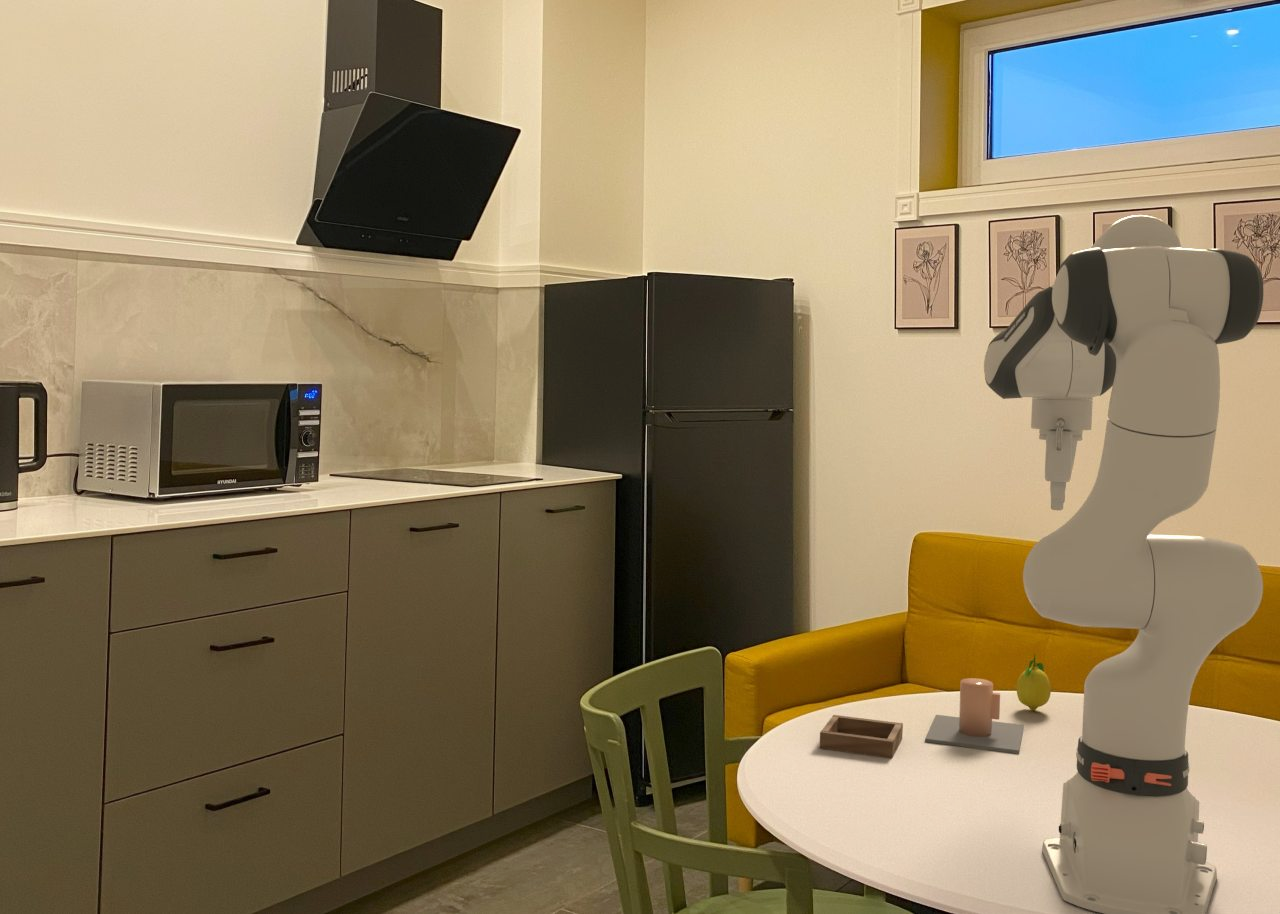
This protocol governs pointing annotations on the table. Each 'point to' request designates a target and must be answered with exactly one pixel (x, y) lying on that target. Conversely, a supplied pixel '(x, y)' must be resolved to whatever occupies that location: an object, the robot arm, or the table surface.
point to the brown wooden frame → (847, 731)
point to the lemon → (1033, 686)
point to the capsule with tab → (977, 707)
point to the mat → (1000, 740)
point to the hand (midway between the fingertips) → (1057, 506)
